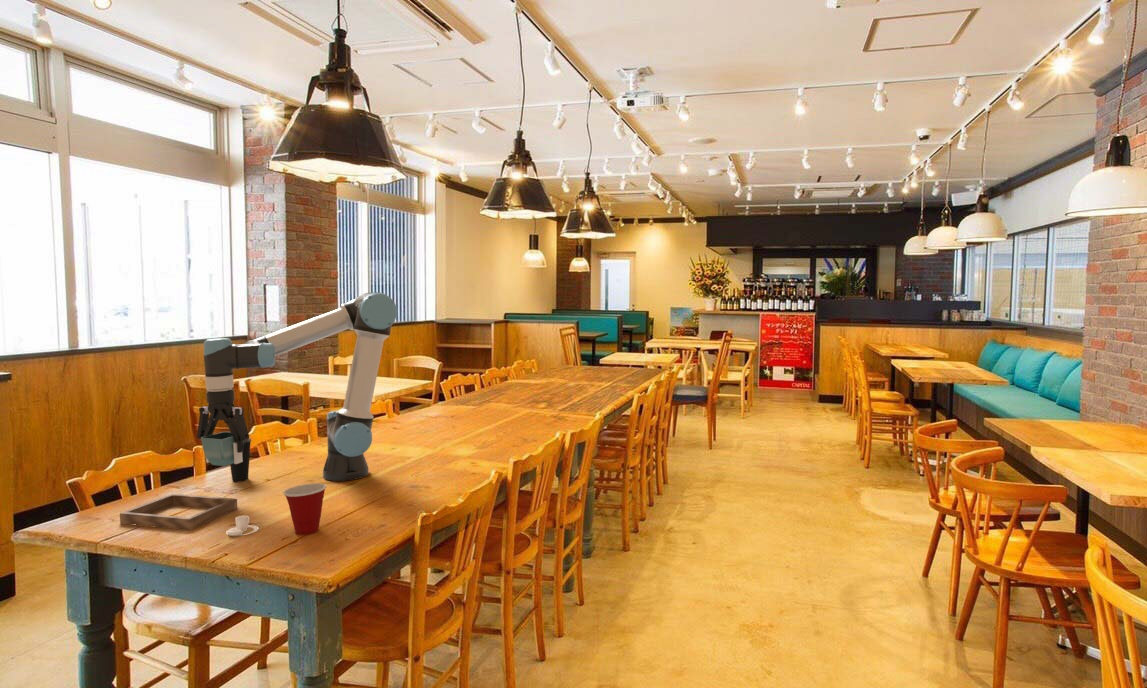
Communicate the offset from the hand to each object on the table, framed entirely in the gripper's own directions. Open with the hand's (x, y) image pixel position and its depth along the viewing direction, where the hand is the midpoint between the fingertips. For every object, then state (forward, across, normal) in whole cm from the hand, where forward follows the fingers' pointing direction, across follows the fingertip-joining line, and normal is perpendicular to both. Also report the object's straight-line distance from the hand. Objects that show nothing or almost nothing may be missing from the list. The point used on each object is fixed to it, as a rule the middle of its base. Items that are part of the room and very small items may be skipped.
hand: (224, 462), depth 206 cm
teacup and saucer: (+13, -20, +24) cm, 34 cm away
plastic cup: (+13, -40, +18) cm, 45 cm away
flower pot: (+1, 0, 0) cm, 1 cm away
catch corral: (+12, +2, +15) cm, 20 cm away
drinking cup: (+12, +12, -21) cm, 27 cm away
